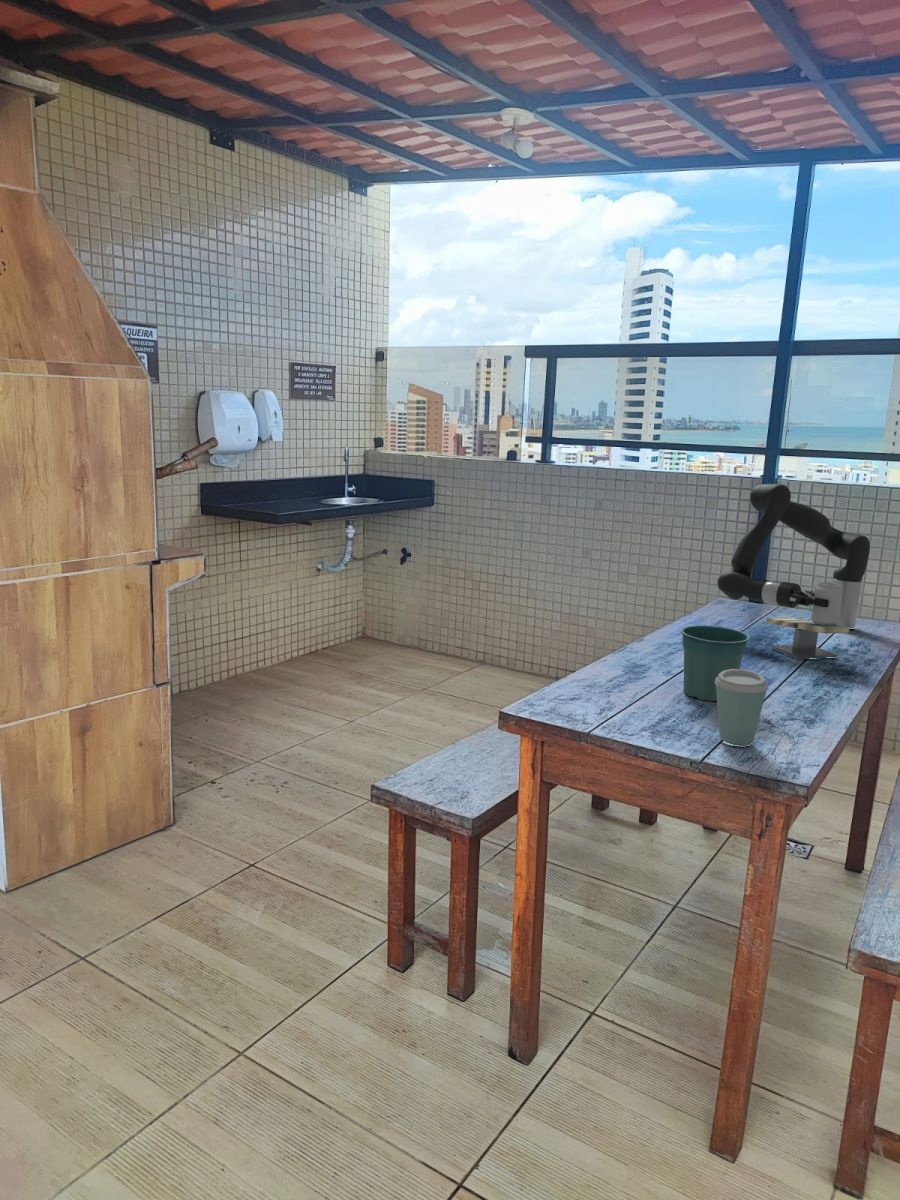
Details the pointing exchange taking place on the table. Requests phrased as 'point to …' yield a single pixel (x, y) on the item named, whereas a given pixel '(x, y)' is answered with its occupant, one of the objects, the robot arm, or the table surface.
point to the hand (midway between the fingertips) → (834, 602)
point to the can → (832, 612)
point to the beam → (807, 625)
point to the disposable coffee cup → (739, 704)
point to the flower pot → (710, 657)
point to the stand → (804, 646)
